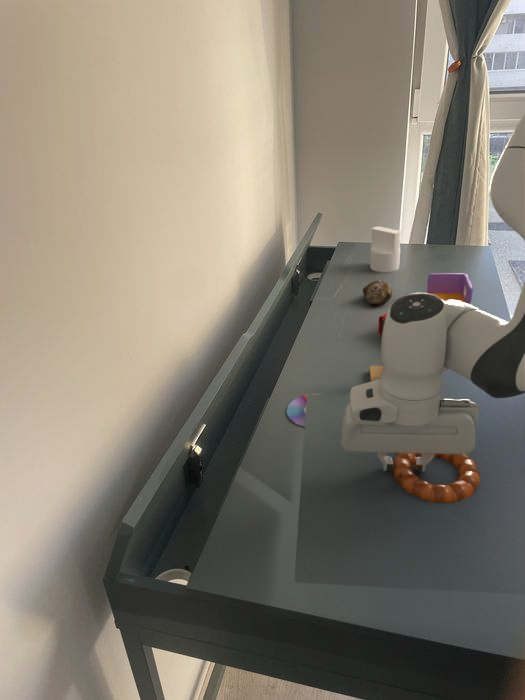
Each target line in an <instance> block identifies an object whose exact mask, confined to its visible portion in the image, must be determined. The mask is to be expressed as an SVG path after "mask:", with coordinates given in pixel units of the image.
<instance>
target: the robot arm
mask: <svg viewBox="0 0 525 700" xmlns="http://www.w3.org/2000/svg"><path fill="white" fill-rule="evenodd" d="M500 155H501V156H500V158H499V159H498V161H497V163H496V166H495V168H494V171H493V173H492V175H491V179H490V184H489V196H490V197H489V198H490V201H491V204H492V206H493V208H494V210H495V212H496V213H497V215H498V217H500V219H501V220H502V221H503V222H504V223H505V224H506V225H507V226H508V227H510V228H511V229H512V230H513V231H514V232H515V233H517V235H519V236H520V237H521V238H522V240H523V241H524V242H525V112H524V113H523V115H522V117H521V118H520V120H519V122H518V124H517V125H516V127H515V128H514V130H513V132H512V134H511V136H510V137H509V139H508V141H507V143H506V145H505V148H504V149H503V152H502V153H501V154H500ZM386 314H387V315H386V318H385V322H384V327H383V333H382V335H381V344H380V345H381V346H380V360H381V364H382V366H383V371H382V374H381V377H380V379H378V380H375V381H372V382H371V381H369V382H368V381H367V382H366V383H361V384H357V385H354V386H351V388H350V392H349V401H348V402H349V403H348V404H347V405H346V407H345V409H344V411H343V415H342V421H341V429H340V443H341V444H340V445H341V448H342V449H343V450H344V451H345V452H347V453H372V454H373V453H375V454H377V456H376V457H377V458H378V459H379V460H380V462H381V464H382V472H394V469H393V461H394V460H393V456H388V455H387V454H399V453H423V454H422V455H421V456H420V457H415V463H414V465H413V466H414V471H415V472H418V473H419V472H420V473H425V472H426V468H427V465H429V463H430V462H431V461H432V460H433V459H434V458H435V457H434V454H466V455H468V454H470V453H472V452H473V451H474V449H475V446H476V429H475V424H476V423H477V422H478V420H479V418H480V413H481V412H480V411H481V409H480V406H479V405H478V403H476V402H475V401H474V402H473V401H471V399H468V398H461V399H453V398H441V397H442V388H443V387H442V386H443V380H442V374H443V372H445V371H447V370H450V371H453V372H454V373H456V374H457V375H458V376H459V375H460V377H463V378H464V379H466V380H468V381H470V382H471V383H472V384H473V385H475V386H476V387H477V388H479V389H480V390H481V391H483V392H485V393H486V394H487V395H488V396H490V397H491V398H494V399H508V398H514V397H517V396H520V395H523V394H525V281H524V282H523V286H522V288H521V291H520V294H519V298H518V299H517V303H516V306H515V309H514V313H513V315H512V317H511V319H510V320H508V321H507V320H505V319H502V318H500V317H498V316H496V315H493V314H491V313H489V312H486V311H484V310H483V309H480V308H478V307H476V306H474V305H473V304H472V305H469V304H467V303H464V302H462V301H458V300H455V299H446V300H442V299H441V298H439V297H438V296H436V295H433V294H429V293H427V292H414V293H409V294H405V295H403V296H400V297H398V298H397V299H395V300H394V301H393V302H392V303H391V304H390V306H389V308H388V310H387V312H386Z"/></svg>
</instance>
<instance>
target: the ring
mask: <svg viewBox="0 0 525 700" xmlns="http://www.w3.org/2000/svg"><path fill="white" fill-rule="evenodd" d="M422 454H423V453H397V455H396V457H395V458H394V459H393V460H392V461H393V467H392V468H393V475H394V476H393V477H394V479H395V480H396V481H397V483H399V484H400V485H401V487H402V488H403V489H404V490H405V491H406V492H407V493H409V494H410V495H413V496H416V497H418V498H420V499H422V500H425V501H428V502H430V503H450V504H451V503H457V502H460V501H462V500H464V499H467V498H469V497H472V496H473V495H474V494H475V492H476V490H477V488H478V487H479V485H480V483H481V475H480V472H479V469H478V466H477V464H476V462H475V460H474V459H473V458H471V457H470V456H469V455H468V454H434V458H440V459H441V460H442V459H443V460H445V461H448V462H450V463H451V464H452V465H453V466H455V468H456V469H457V472H458V475H459V476H458V478H457V480H456V481H453V482H450V483H448V484H433V483H431V482H428V481H426V480H423V479H421V478H420V477H418V476H417V474H415V473H414V470H413V466H414V463H415V457H420V456H421V455H422Z"/></svg>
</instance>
